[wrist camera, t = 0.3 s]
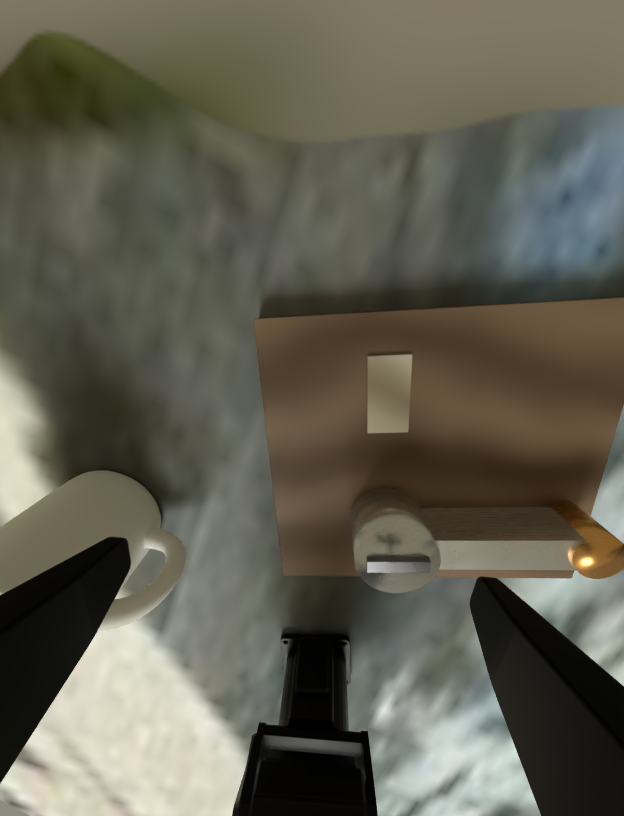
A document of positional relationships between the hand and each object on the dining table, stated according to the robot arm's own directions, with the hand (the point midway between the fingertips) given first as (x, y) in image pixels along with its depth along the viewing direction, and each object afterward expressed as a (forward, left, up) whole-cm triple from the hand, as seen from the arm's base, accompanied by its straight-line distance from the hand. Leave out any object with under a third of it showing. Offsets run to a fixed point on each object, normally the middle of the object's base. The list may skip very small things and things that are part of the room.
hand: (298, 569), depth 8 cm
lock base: (-4, -7, -14) cm, 16 cm away
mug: (-9, +16, -14) cm, 23 cm away
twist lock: (-8, -10, -12) cm, 18 cm away
